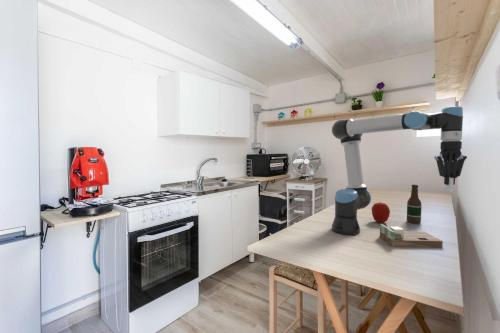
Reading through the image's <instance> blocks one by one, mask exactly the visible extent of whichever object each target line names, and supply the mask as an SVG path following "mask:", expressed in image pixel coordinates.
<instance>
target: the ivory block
mask: <svg viewBox="0 0 500 333" xmlns="http://www.w3.org/2000/svg"><path fill="white" fill-rule="evenodd" d="M389 229H391V230H392V231H394V232H395V234H401V237H404V232H405V229H404V228H402V227H400V226H389Z"/></svg>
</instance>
